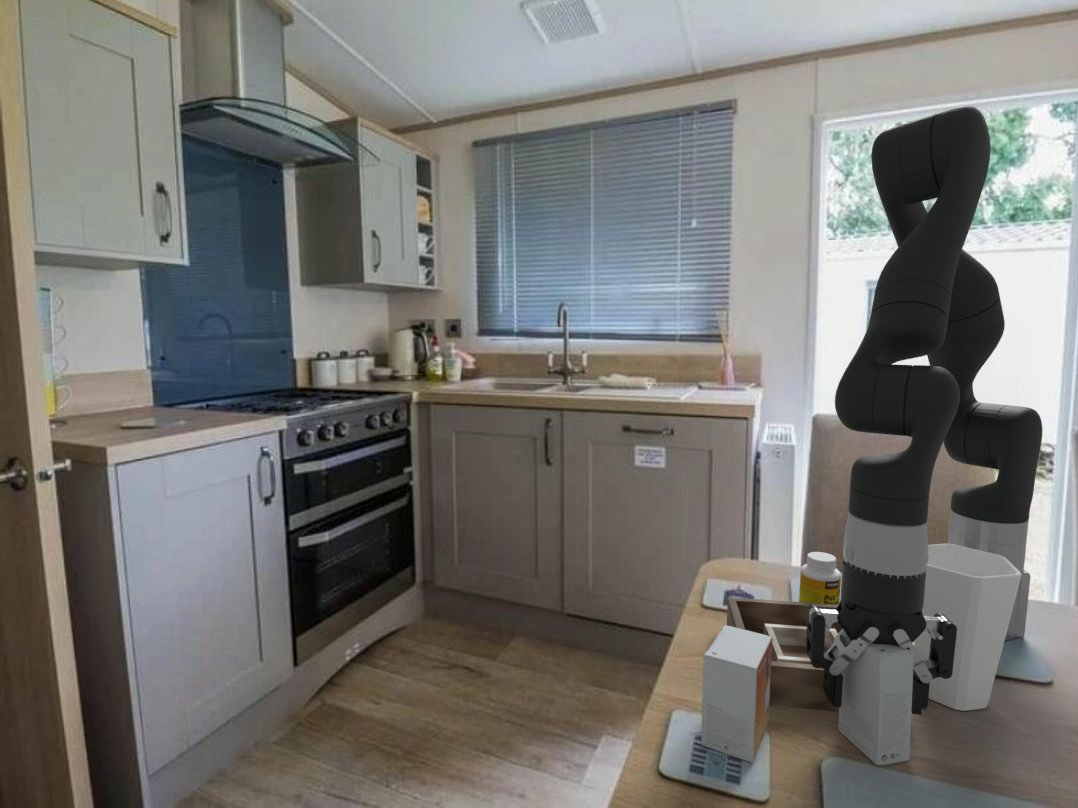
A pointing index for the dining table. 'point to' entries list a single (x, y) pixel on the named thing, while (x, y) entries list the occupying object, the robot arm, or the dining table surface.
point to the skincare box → (878, 702)
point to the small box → (736, 692)
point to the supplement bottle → (820, 579)
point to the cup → (968, 619)
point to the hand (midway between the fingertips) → (873, 706)
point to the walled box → (786, 648)
